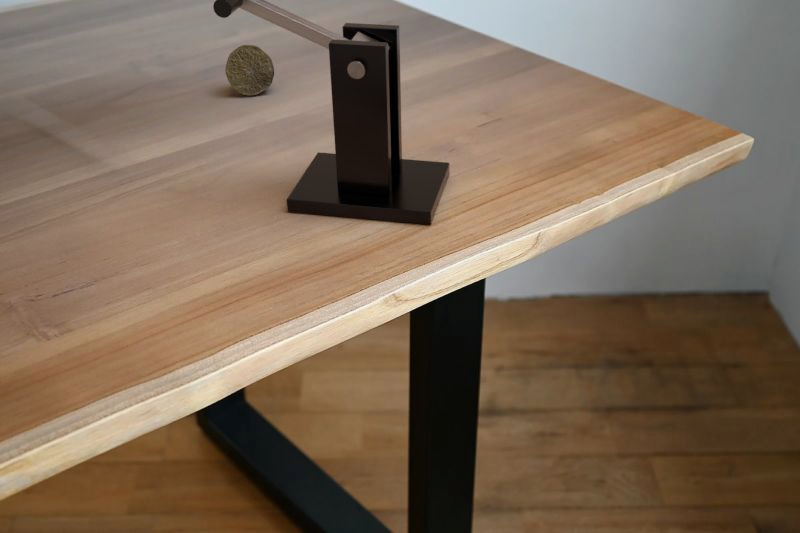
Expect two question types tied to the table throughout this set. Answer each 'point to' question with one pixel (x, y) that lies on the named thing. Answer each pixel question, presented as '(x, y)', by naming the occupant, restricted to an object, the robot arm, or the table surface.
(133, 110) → the table surface
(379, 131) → the bracket
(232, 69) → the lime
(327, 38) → the lever
